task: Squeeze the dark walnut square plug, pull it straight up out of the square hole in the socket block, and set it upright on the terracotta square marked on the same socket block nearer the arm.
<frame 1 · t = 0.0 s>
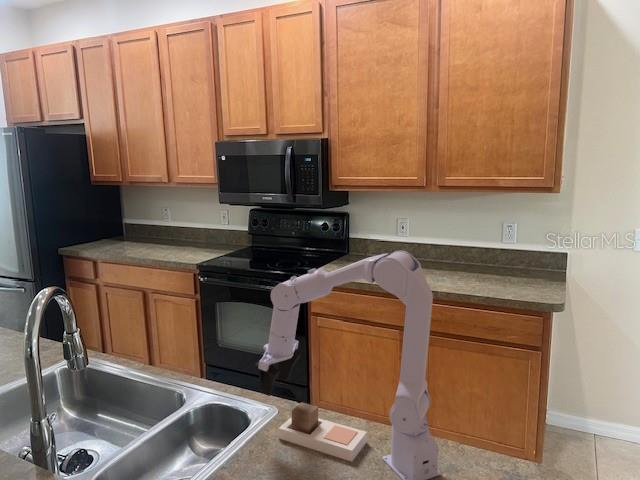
hand: (274, 386, 109), 10 cm above the countertop, tool pointing down, fingers open, 7 cm apart
plug: (304, 435, 108), resting in socket block
socket block: (322, 440, 106), on the countertop
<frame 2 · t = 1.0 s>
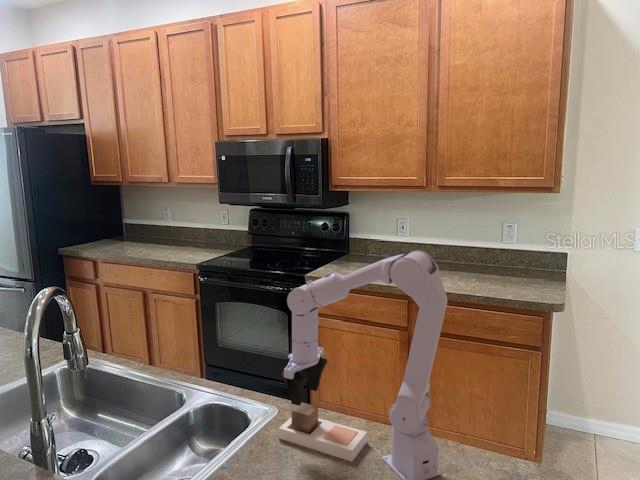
hand: (304, 396, 106), 9 cm above the countertop, tool pointing down, fingers open, 7 cm apart
nothing on the countertop moved.
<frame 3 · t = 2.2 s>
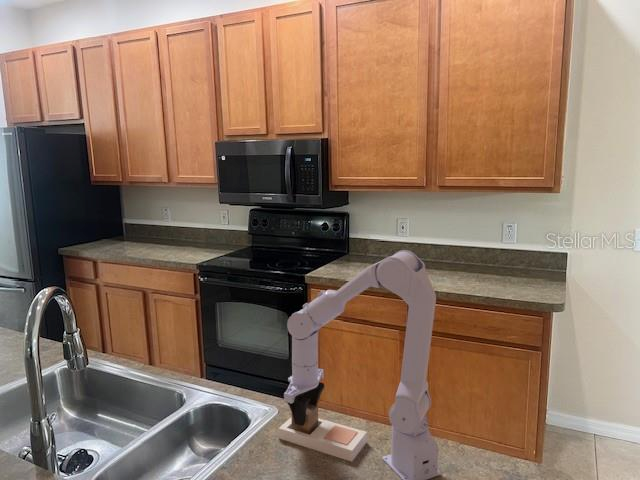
hand: (304, 419, 107), 4 cm above the countertop, tool pointing down, fingers closed on plug, 4 cm apart
plug: (304, 435, 108), resting in socket block, touching gripper
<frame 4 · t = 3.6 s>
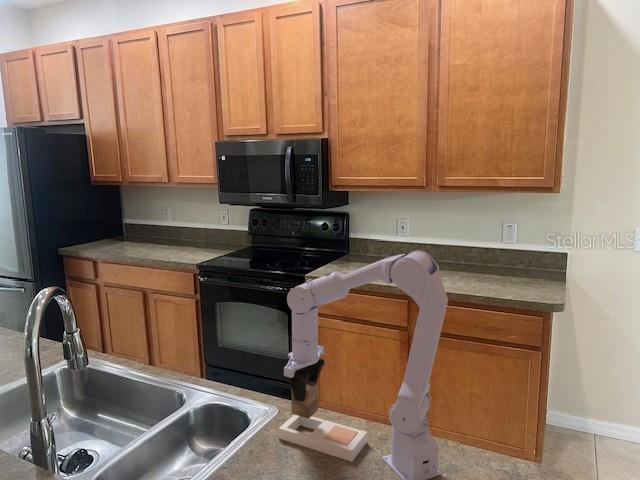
hand: (305, 395, 106), 10 cm above the countertop, tool pointing down, fingers closed on plug, 4 cm apart
plug: (305, 411, 107), point 6 cm above the countertop, touching gripper
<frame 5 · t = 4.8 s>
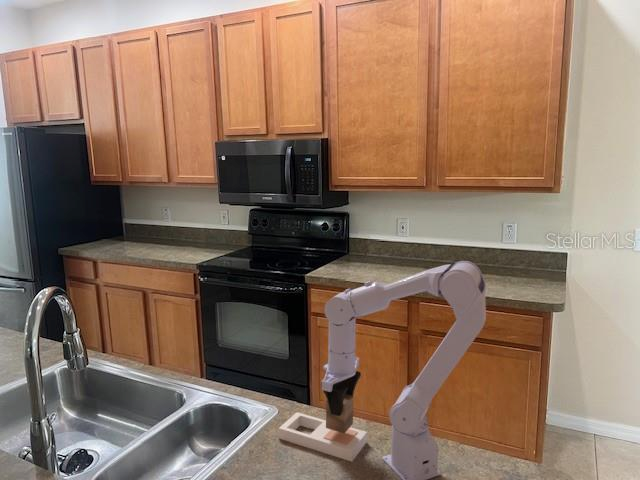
hand: (340, 409, 102), 9 cm above the countertop, tool pointing down, fingers closed on plug, 4 cm apart
plug: (339, 425, 103), point 5 cm above the countertop, touching gripper
when the fingers open (8 cm above the countertop, at t = 5.4 s): plug moves 1 cm, resting on socket block.
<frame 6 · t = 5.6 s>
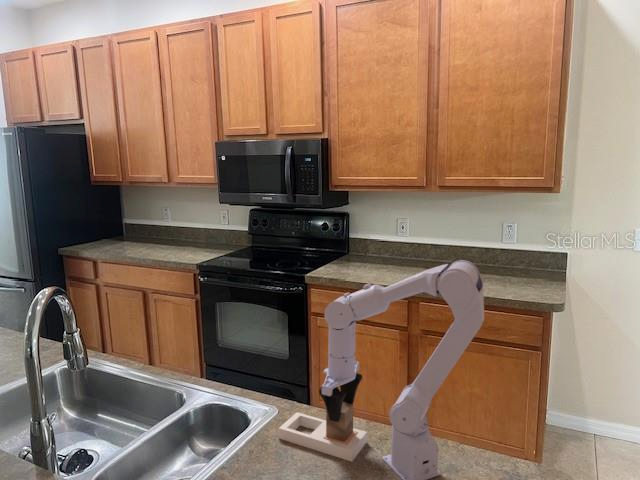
hand: (341, 413, 102), 8 cm above the countertop, tool pointing down, fingers open, 6 cm apart
plug: (339, 434, 103), point 3 cm above the countertop, touching socket block
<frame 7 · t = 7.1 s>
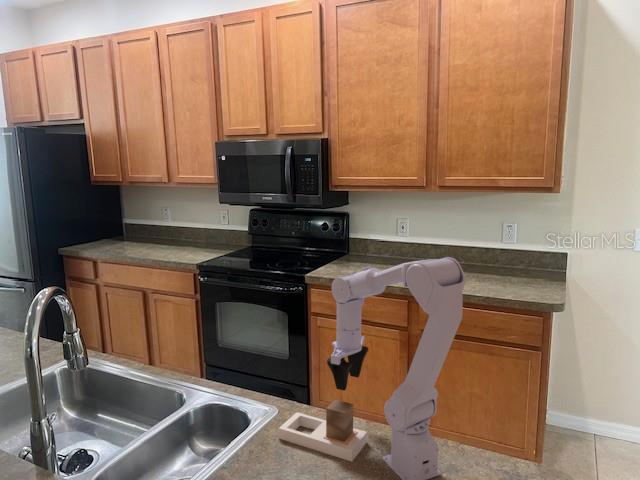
hand: (348, 382, 111), 10 cm above the countertop, tool pointing down, fingers open, 7 cm apart
nothing on the countertop moved.
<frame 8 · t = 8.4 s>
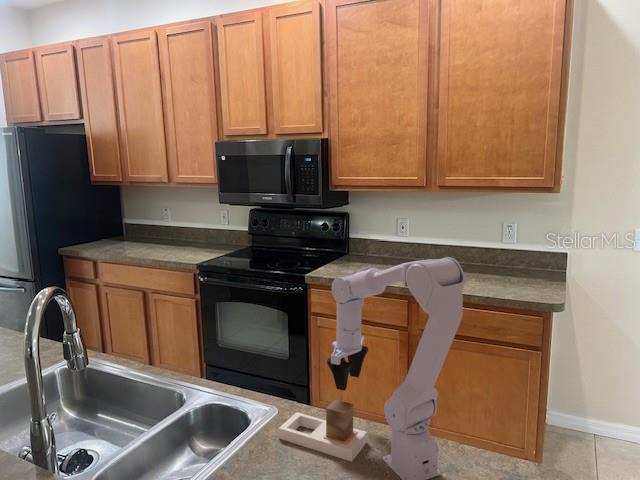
hand: (348, 382, 111), 10 cm above the countertop, tool pointing down, fingers open, 7 cm apart
nothing on the countertop moved.
at the end: plug 0.2 cm from the target spot, point 2.7 cm above the countertop; plug tilted 0°; the gripper is holding nothing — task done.
